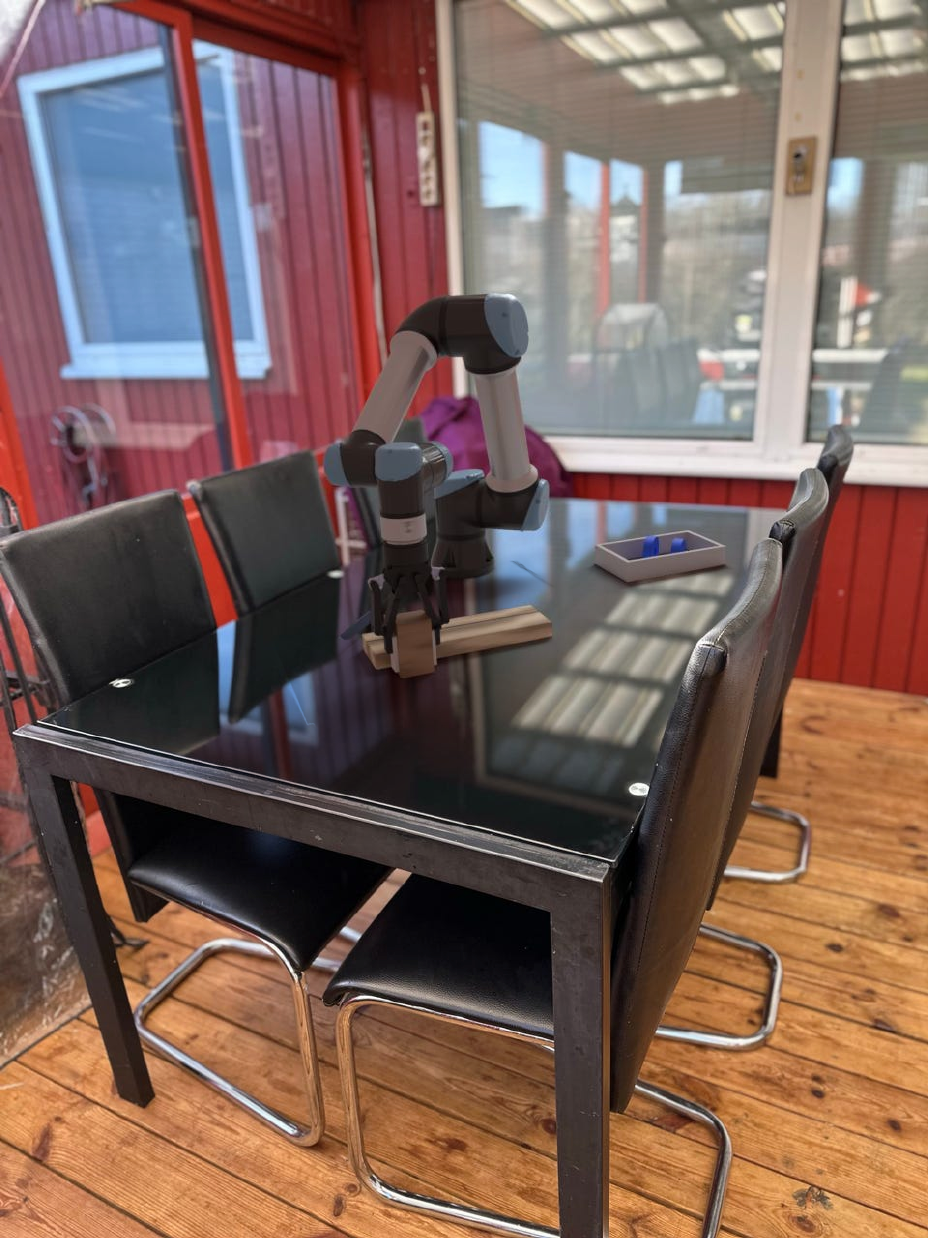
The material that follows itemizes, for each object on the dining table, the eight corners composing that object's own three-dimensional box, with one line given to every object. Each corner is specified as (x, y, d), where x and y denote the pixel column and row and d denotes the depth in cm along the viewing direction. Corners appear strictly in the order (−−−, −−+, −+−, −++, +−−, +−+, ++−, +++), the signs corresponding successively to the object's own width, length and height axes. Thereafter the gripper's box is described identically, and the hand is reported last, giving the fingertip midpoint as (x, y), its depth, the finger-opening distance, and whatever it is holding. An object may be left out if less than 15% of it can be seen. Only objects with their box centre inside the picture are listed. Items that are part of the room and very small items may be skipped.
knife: (387, 611, 184) (385, 588, 183) (397, 612, 184) (396, 589, 182) (335, 652, 163) (333, 626, 161) (347, 653, 162) (345, 627, 160)
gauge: (375, 642, 168) (371, 593, 164) (406, 637, 170) (402, 588, 166) (401, 678, 152) (397, 624, 149) (434, 672, 154) (431, 618, 151)
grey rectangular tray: (594, 563, 206) (594, 544, 204) (687, 548, 213) (688, 530, 212) (627, 582, 193) (627, 562, 191) (724, 565, 200) (726, 546, 199)
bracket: (677, 582, 199) (679, 543, 195) (641, 578, 202) (642, 540, 199) (695, 559, 214) (697, 523, 210) (661, 555, 217) (662, 520, 214)
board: (363, 649, 165) (361, 634, 164) (530, 619, 175) (530, 604, 174) (376, 669, 156) (375, 653, 155) (551, 636, 166) (551, 621, 165)
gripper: (353, 552, 140) (366, 684, 149) (466, 536, 146) (472, 664, 155) (343, 540, 147) (356, 667, 155) (451, 525, 153) (458, 648, 161)
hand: (414, 665), depth 155 cm, fingers closed on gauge, 6 cm apart
